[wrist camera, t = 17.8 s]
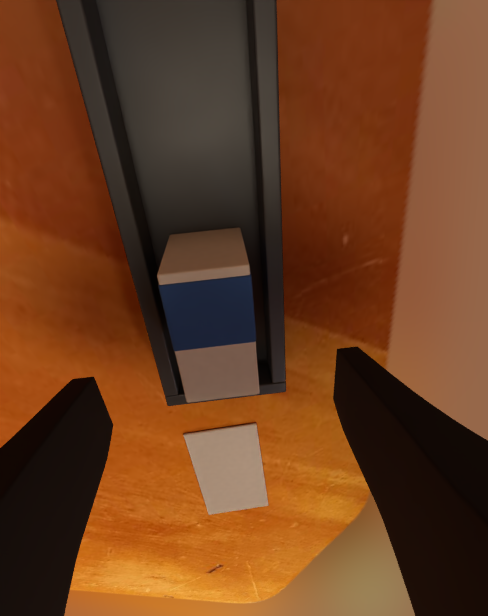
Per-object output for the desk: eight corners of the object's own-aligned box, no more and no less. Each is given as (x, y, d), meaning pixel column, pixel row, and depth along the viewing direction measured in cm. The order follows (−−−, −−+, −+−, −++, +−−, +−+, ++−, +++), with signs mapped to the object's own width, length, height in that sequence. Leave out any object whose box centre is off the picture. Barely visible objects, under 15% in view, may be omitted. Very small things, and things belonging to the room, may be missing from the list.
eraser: (250, 336, 15) (260, 395, 12) (190, 343, 15) (185, 404, 12) (241, 226, 13) (250, 264, 10) (168, 234, 12) (154, 275, 9)
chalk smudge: (268, 504, 23) (268, 505, 23) (208, 513, 23) (208, 514, 23) (256, 422, 19) (256, 424, 19) (183, 433, 19) (183, 435, 19)
